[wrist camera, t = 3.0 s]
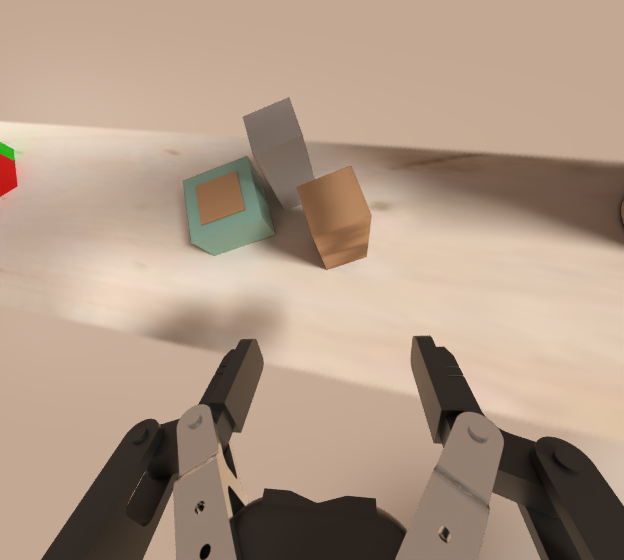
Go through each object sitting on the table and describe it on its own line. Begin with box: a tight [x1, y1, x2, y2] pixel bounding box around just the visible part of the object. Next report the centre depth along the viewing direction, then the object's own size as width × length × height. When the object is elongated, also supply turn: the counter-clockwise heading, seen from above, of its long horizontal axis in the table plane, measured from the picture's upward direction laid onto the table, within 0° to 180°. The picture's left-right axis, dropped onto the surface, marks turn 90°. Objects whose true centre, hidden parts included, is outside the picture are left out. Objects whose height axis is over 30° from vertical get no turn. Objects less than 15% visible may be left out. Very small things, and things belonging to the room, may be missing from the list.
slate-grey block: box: [243, 98, 315, 210], centre depth 27 cm, size 5×5×10 cm
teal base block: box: [183, 156, 275, 256], centre depth 31 cm, size 9×9×5 cm
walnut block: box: [297, 166, 371, 270], centre depth 24 cm, size 5×5×10 cm
